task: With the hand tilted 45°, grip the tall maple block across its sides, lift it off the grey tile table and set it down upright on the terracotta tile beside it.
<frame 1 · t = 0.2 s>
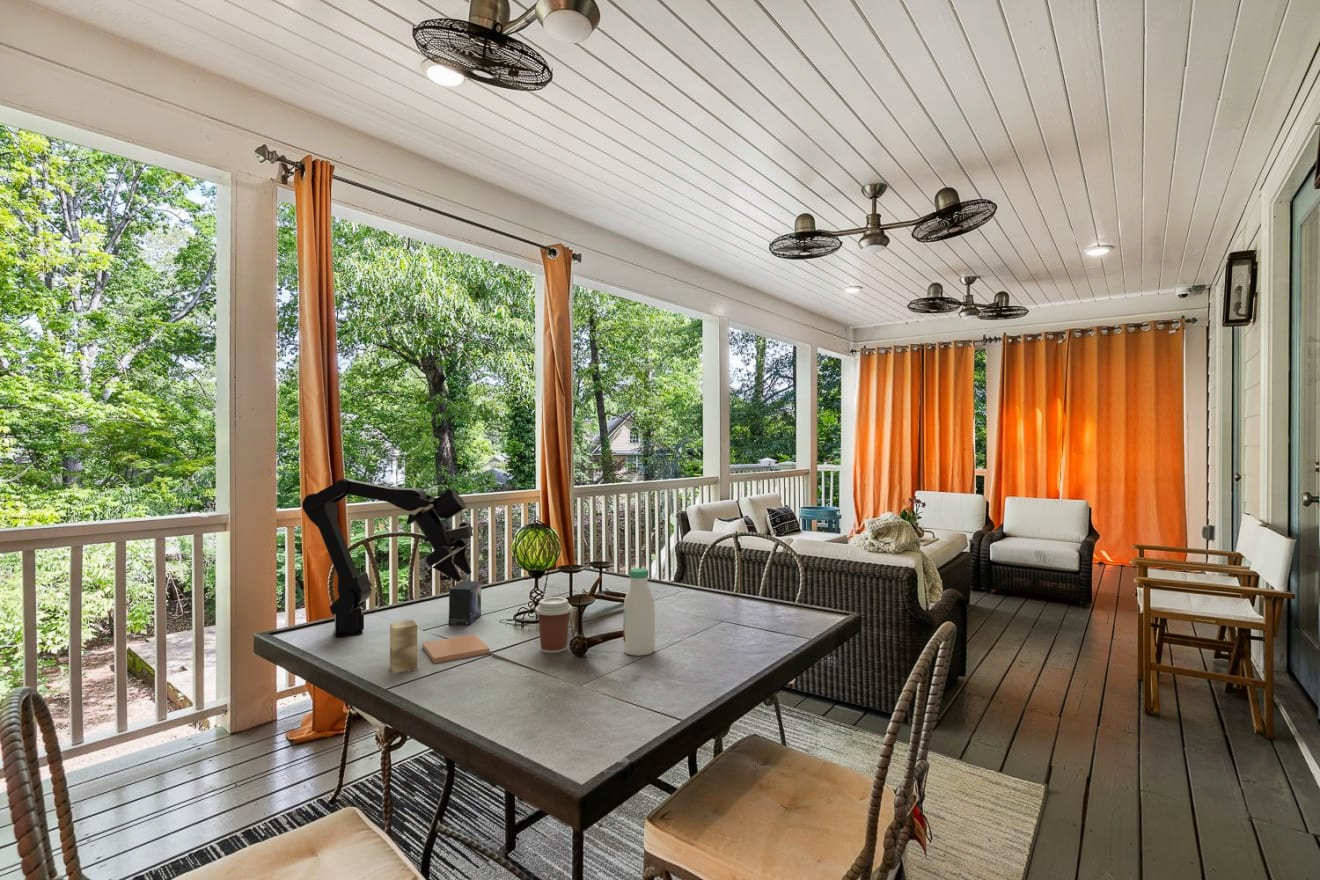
hand: (465, 577, 168), 15 cm above the table, tool tilted 35°, fingers open, 9 cm apart
coffee cup: (553, 649, 153), on the table
milk bottle: (639, 652, 151), on the table
small box: (465, 621, 178), on the table
maple block: (403, 668, 140), on the table
terracotta tile: (455, 650, 152), on the table
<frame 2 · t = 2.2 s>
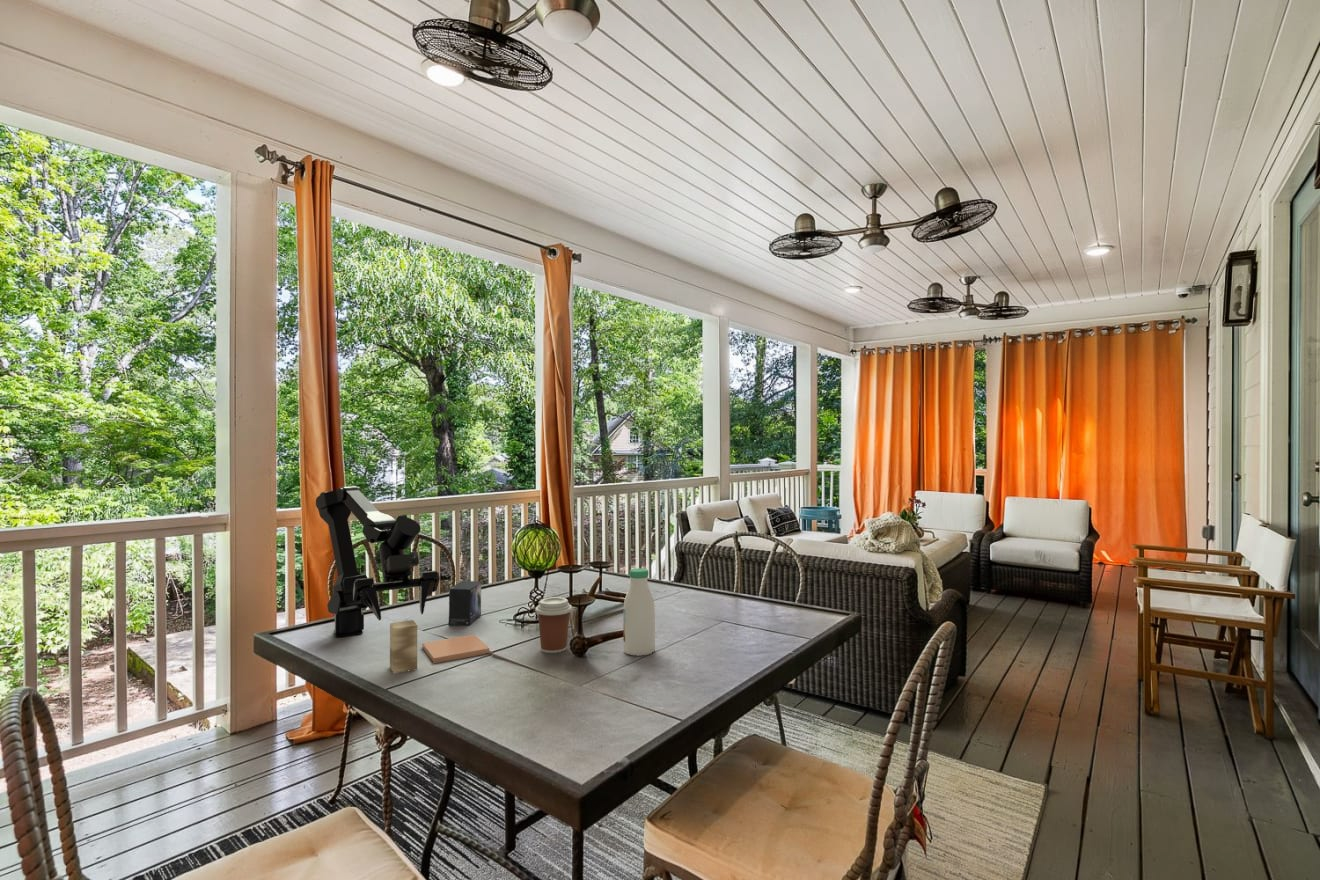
hand: (401, 616, 143), 11 cm above the table, tool tilted 45°, fingers open, 9 cm apart
nothing on the table moved.
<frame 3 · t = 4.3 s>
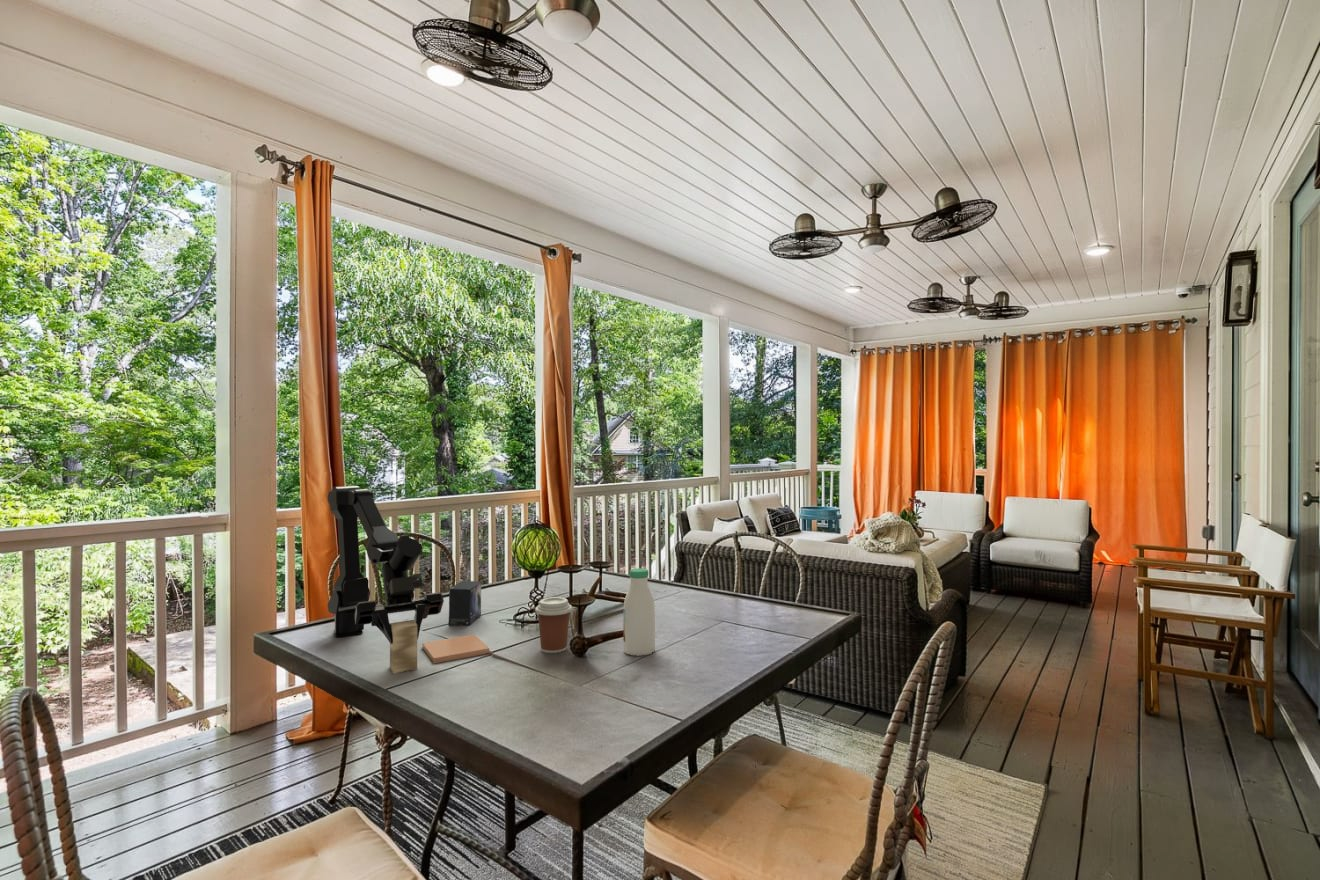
hand: (404, 640, 139), 7 cm above the table, tool tilted 45°, fingers closed on maple block, 5 cm apart
maple block: (403, 668, 140), on the table, touching gripper
everything else where it was.
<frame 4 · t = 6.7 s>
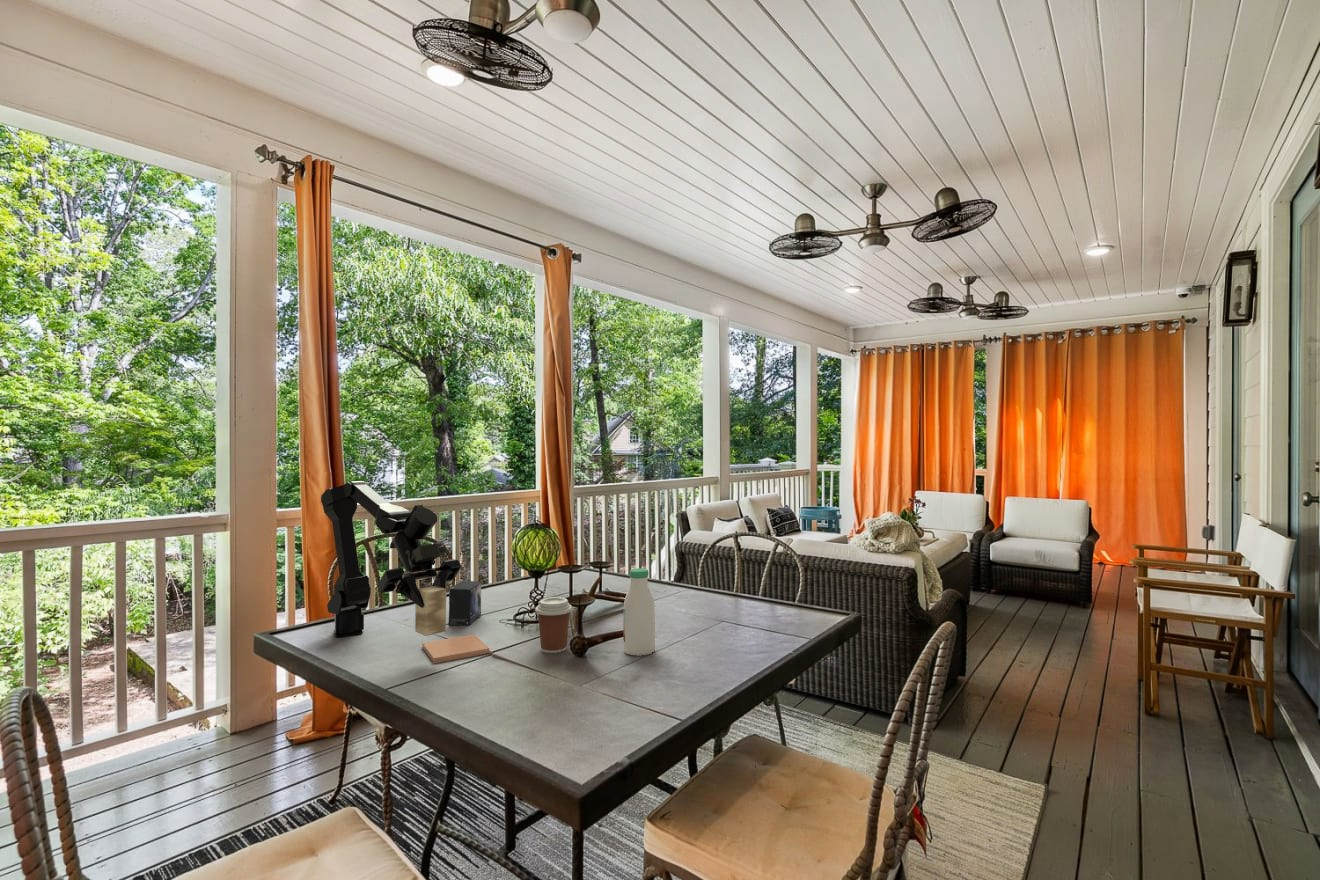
hand: (433, 604, 145), 13 cm above the table, tool tilted 45°, fingers closed on maple block, 5 cm apart
maple block: (430, 631, 146), point 7 cm above the table, touching gripper
everything else where it was.
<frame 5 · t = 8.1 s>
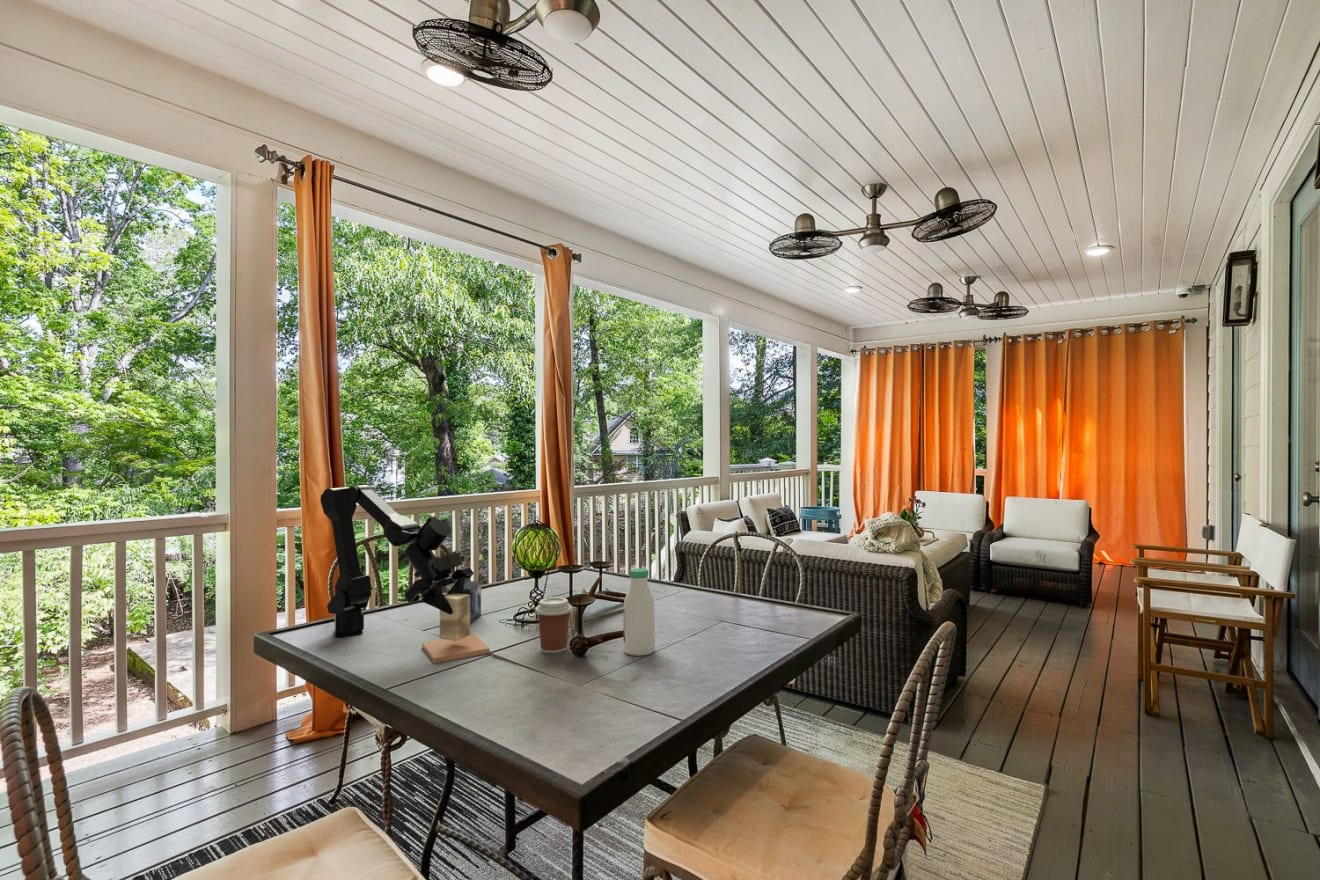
hand: (459, 610, 152), 10 cm above the table, tool tilted 45°, fingers closed on maple block, 5 cm apart
maple block: (455, 636, 152), point 3 cm above the table, touching gripper
everything else where it was.
when the fingers open (9 cm above the table, at t = 9.2 s): maple block stays where it is, resting on terracotta tile.
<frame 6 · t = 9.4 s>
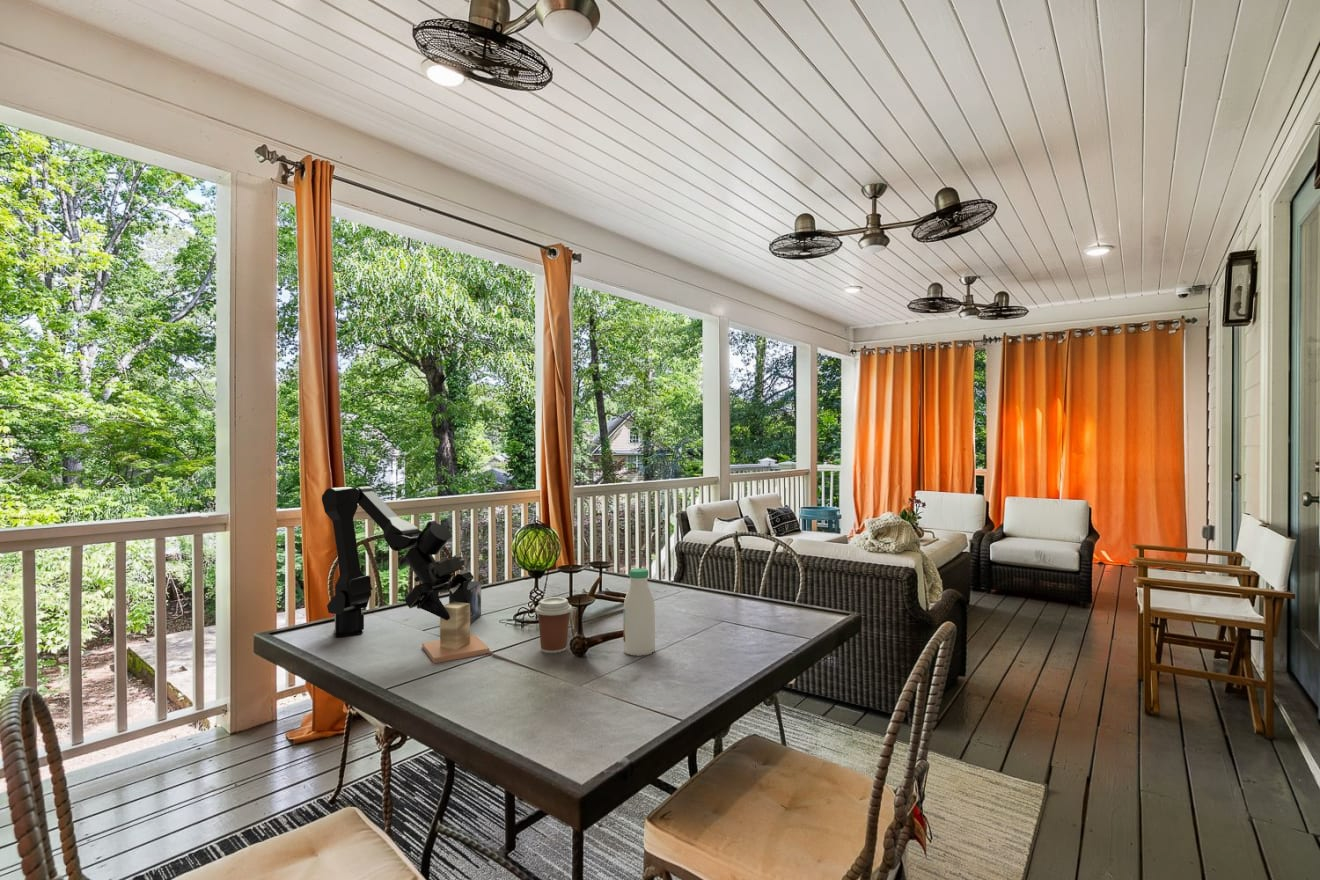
hand: (459, 615, 152), 9 cm above the table, tool tilted 45°, fingers open, 7 cm apart
maple block: (455, 645, 152), point 1 cm above the table, touching terracotta tile
everything else where it was.
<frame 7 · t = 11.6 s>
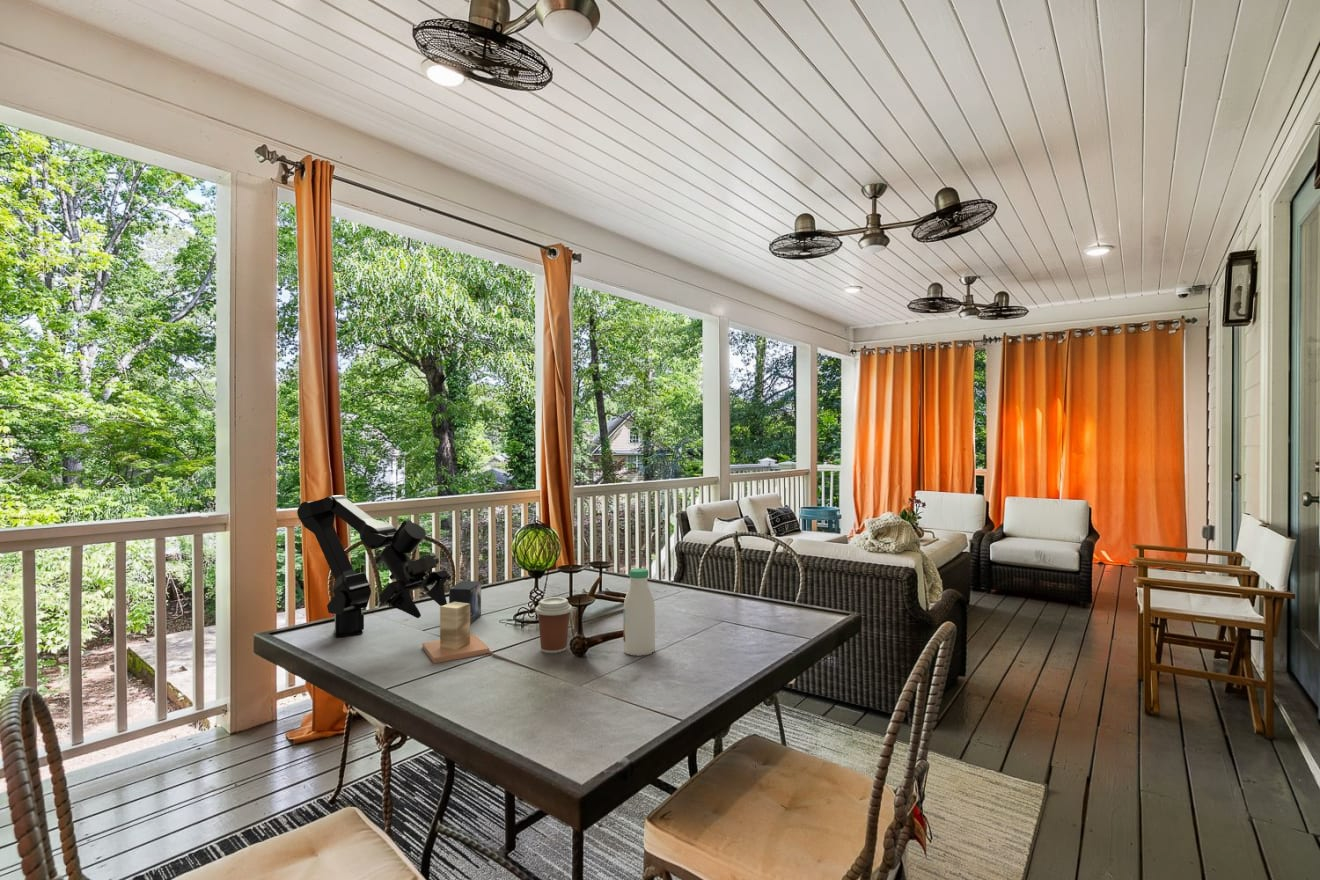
hand: (433, 612, 155), 9 cm above the table, tool tilted 45°, fingers open, 9 cm apart
nothing on the table moved.
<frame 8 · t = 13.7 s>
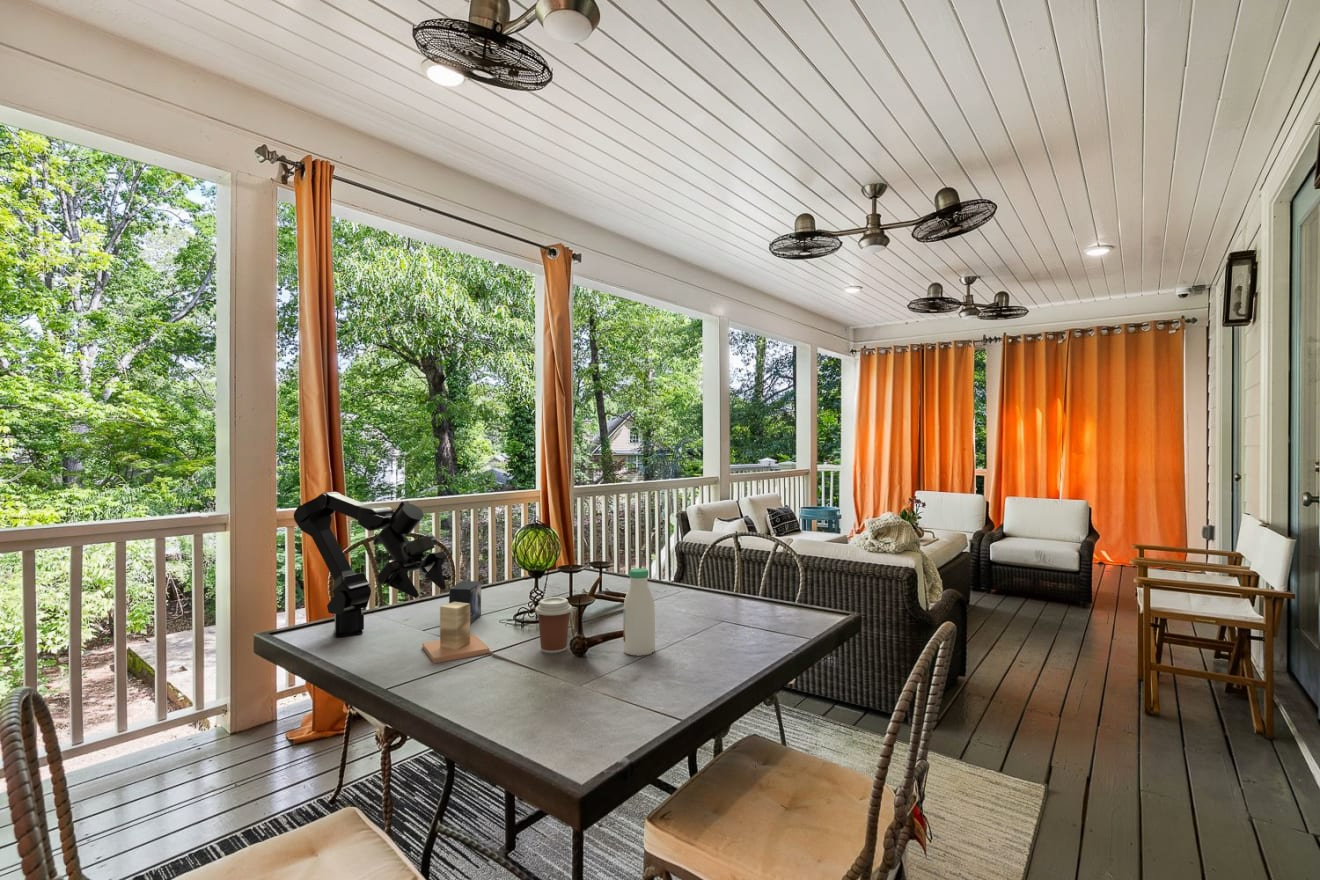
hand: (431, 592, 155), 14 cm above the table, tool tilted 45°, fingers open, 9 cm apart
nothing on the table moved.
at the end: maple block inside the target area on the terracotta tile (0.0 cm from its centre), point 1.2 cm above the terracotta tile's base; maple block tilted 0°; the gripper is holding nothing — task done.
